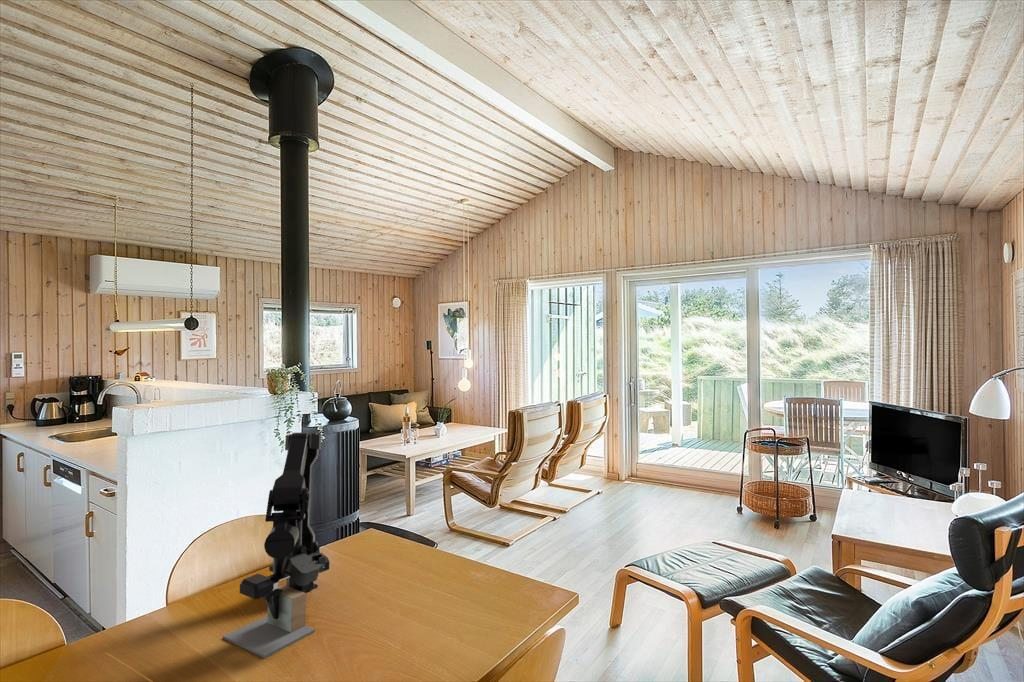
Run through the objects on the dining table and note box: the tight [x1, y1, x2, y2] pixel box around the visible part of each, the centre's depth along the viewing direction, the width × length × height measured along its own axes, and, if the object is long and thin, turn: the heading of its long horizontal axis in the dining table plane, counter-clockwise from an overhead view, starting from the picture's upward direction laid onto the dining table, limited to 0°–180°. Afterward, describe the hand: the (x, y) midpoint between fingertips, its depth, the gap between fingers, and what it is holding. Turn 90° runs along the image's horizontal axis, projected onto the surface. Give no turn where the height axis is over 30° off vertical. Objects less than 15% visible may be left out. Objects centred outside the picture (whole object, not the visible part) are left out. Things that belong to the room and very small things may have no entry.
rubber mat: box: [222, 615, 316, 659], centre depth 113 cm, size 14×12×1 cm
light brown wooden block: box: [267, 584, 307, 633], centre depth 117 cm, size 8×4×7 cm, turn 59°
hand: (286, 613), depth 117 cm, fingers open, 5 cm apart
